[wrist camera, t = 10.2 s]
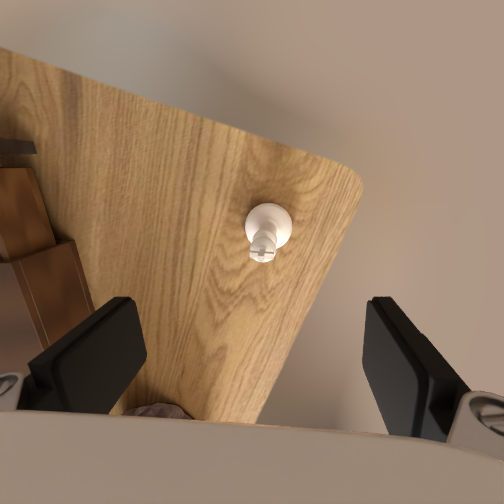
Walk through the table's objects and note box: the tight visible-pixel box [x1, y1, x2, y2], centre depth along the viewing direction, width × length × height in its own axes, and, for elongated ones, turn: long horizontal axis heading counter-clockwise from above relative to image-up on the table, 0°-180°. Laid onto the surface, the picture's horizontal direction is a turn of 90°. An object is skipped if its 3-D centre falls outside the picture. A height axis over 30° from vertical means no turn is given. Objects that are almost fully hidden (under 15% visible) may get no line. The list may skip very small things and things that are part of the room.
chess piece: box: [245, 203, 292, 262], centre depth 22 cm, size 5×5×10 cm
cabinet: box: [0, 240, 95, 377], centre depth 30 cm, size 14×13×8 cm
